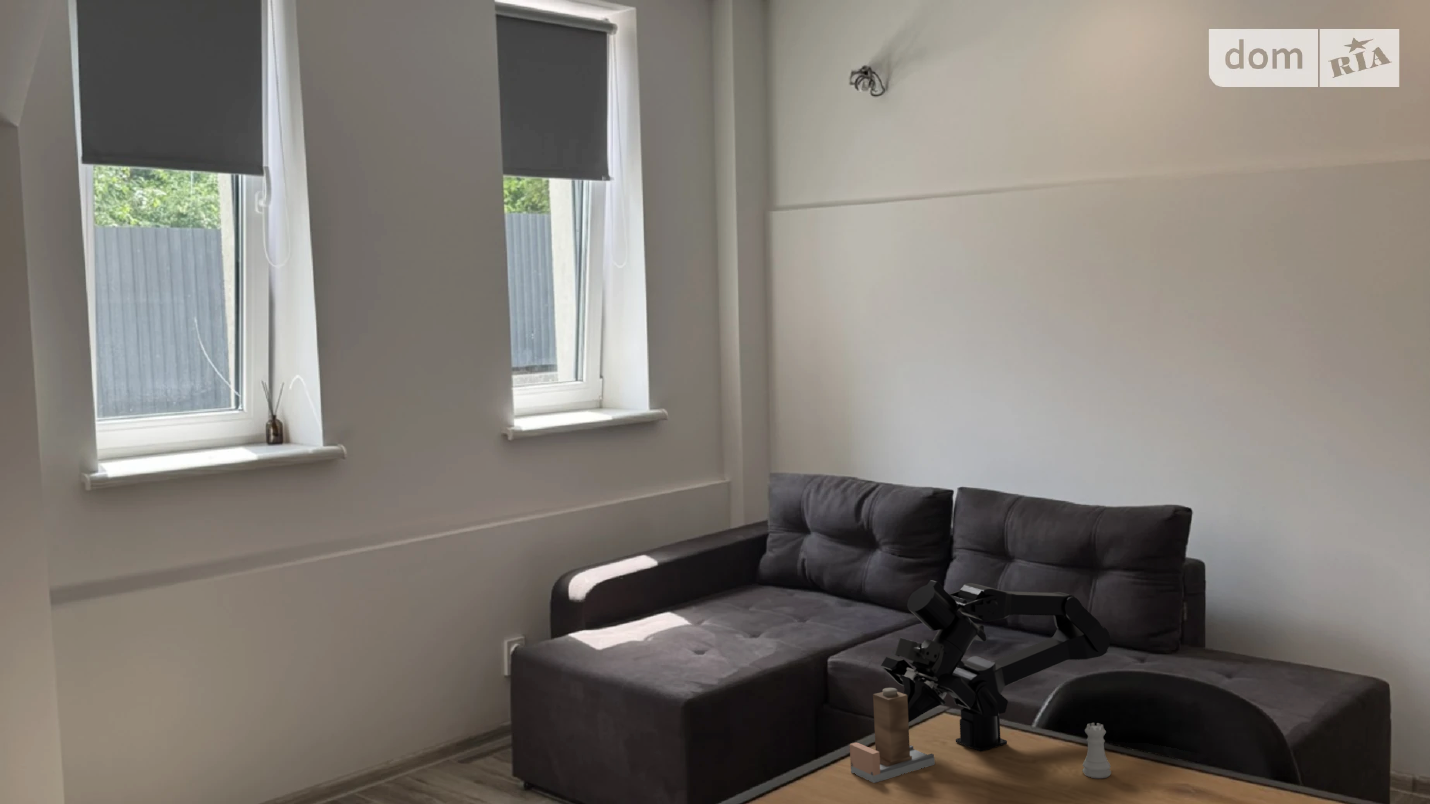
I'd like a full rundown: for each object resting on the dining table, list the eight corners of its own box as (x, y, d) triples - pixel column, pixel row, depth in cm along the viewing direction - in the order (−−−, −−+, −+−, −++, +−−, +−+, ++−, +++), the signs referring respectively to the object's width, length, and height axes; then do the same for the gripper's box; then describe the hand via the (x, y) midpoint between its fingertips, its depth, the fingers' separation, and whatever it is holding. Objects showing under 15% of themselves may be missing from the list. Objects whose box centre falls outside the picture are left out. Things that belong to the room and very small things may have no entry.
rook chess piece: (1113, 779, 188) (1111, 730, 188) (1083, 779, 189) (1082, 729, 189) (1109, 769, 193) (1107, 721, 192) (1081, 768, 194) (1079, 720, 193)
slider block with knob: (896, 754, 201) (893, 684, 200) (912, 760, 198) (908, 689, 197) (874, 760, 199) (870, 690, 198) (889, 767, 195) (886, 695, 194)
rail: (911, 754, 204) (909, 727, 204) (934, 764, 199) (933, 736, 199) (851, 772, 197) (849, 744, 197) (873, 783, 192) (872, 753, 192)
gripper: (887, 610, 209) (839, 683, 204) (959, 629, 193) (909, 710, 188) (923, 646, 213) (877, 719, 208) (997, 668, 197) (949, 748, 192)
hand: (901, 723), depth 199 cm, fingers closed, pressing on slider block with knob
